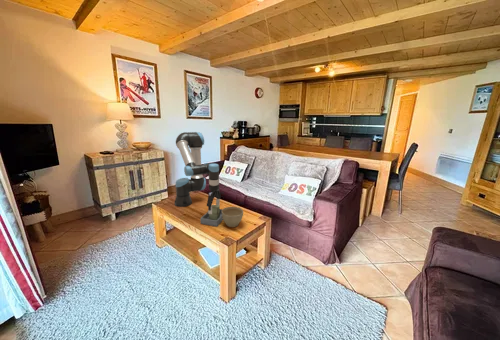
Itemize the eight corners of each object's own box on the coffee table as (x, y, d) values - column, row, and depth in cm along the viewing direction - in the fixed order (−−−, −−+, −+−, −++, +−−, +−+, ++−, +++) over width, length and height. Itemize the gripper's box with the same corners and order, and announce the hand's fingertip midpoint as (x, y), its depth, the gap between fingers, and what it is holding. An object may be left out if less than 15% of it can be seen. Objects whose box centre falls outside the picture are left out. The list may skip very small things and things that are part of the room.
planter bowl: (235, 232, 142) (235, 218, 140) (217, 225, 150) (217, 212, 147) (247, 222, 156) (247, 209, 153) (229, 217, 164) (229, 204, 161)
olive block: (212, 216, 163) (212, 204, 160) (219, 217, 161) (219, 205, 159) (209, 219, 157) (209, 207, 155) (216, 220, 156) (216, 208, 153)
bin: (212, 212, 170) (212, 207, 169) (227, 215, 167) (227, 210, 166) (200, 223, 152) (200, 218, 151) (217, 226, 149) (217, 221, 147)
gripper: (211, 190, 140) (211, 218, 145) (225, 180, 163) (224, 204, 168) (201, 189, 142) (202, 216, 147) (216, 179, 165) (216, 202, 170)
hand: (214, 210), depth 158 cm, fingers open, 13 cm apart
